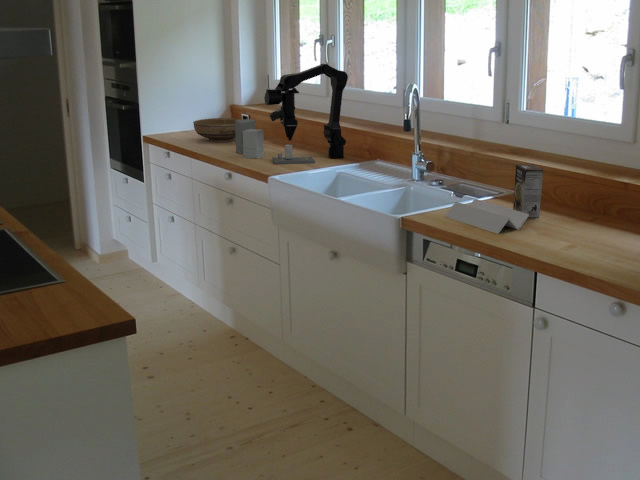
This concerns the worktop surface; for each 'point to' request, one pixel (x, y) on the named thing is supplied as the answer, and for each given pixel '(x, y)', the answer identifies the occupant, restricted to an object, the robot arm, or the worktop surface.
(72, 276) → the worktop surface
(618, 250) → the worktop surface
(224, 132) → the wooden bowl
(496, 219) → the z bracket
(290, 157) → the block
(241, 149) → the skincare box
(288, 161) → the plate
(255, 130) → the supplement box
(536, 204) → the coffee box
